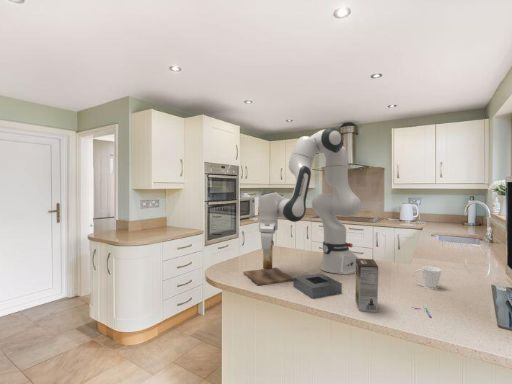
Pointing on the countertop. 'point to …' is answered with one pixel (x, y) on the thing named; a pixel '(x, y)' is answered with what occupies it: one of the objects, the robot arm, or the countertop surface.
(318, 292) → the metal socket
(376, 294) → the coffee box
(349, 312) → the countertop surface
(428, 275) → the cup
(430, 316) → the squeegee
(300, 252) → the countertop surface
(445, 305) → the countertop surface
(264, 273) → the walnut board
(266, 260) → the brass peg
